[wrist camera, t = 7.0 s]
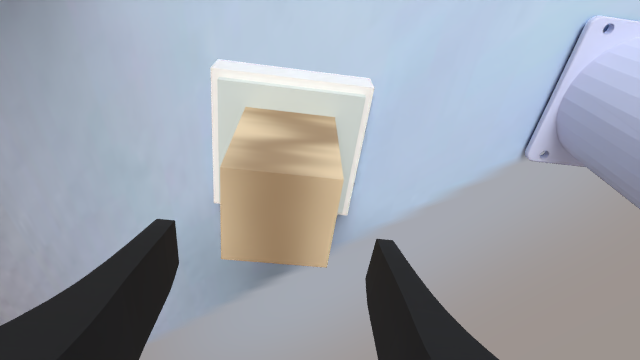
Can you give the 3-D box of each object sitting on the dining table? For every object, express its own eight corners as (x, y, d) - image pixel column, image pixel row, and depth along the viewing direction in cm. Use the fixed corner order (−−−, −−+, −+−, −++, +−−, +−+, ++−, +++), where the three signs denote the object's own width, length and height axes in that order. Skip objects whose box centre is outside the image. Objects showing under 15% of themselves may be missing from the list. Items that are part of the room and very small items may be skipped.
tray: (370, 78, 20) (375, 90, 18) (345, 200, 24) (347, 219, 22) (217, 59, 19) (208, 69, 17) (219, 188, 23) (212, 207, 21)
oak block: (335, 117, 19) (343, 179, 14) (323, 190, 21) (326, 267, 16) (245, 106, 18) (219, 167, 13) (243, 182, 21) (221, 258, 16)
